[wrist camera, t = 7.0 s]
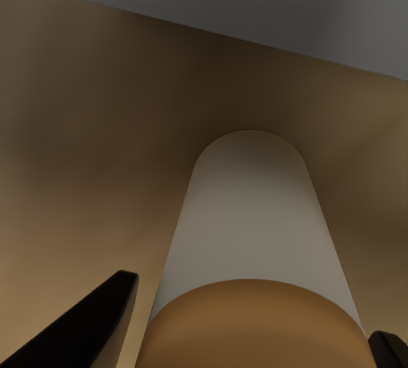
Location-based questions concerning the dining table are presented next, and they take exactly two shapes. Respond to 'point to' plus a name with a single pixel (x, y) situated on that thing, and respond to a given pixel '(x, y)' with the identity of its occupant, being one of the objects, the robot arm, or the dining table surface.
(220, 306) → the plug
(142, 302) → the dining table surface
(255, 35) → the header
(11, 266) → the dining table surface
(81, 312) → the robot arm
